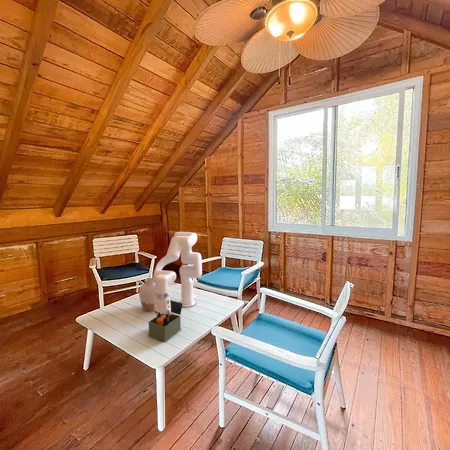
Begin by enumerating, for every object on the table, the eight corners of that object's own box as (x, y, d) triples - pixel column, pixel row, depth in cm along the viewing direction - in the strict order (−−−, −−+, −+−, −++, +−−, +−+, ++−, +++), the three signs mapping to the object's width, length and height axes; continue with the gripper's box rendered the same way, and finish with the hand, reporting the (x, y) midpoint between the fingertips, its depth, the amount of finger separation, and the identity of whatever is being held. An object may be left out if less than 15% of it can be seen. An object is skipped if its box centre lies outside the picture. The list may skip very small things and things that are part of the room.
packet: (163, 319, 160) (163, 314, 160) (168, 321, 158) (168, 316, 158) (156, 324, 155) (156, 319, 154) (161, 325, 153) (161, 321, 152)
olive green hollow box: (165, 324, 169) (164, 311, 168) (180, 329, 163) (180, 316, 162) (148, 335, 156) (148, 321, 154) (165, 341, 150) (164, 327, 148)
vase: (162, 302, 201) (161, 275, 197) (160, 312, 185) (159, 283, 182) (141, 304, 198) (140, 276, 195) (138, 314, 183) (136, 284, 179)
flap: (164, 310, 167) (165, 310, 168) (180, 315, 161) (180, 314, 162) (166, 299, 169) (167, 299, 169) (182, 303, 163) (182, 303, 163)
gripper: (176, 295, 153) (177, 322, 156) (155, 289, 161) (156, 316, 164) (168, 299, 147) (169, 328, 149) (147, 294, 155) (148, 321, 157)
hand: (162, 321), depth 156 cm, fingers closed on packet, 4 cm apart
